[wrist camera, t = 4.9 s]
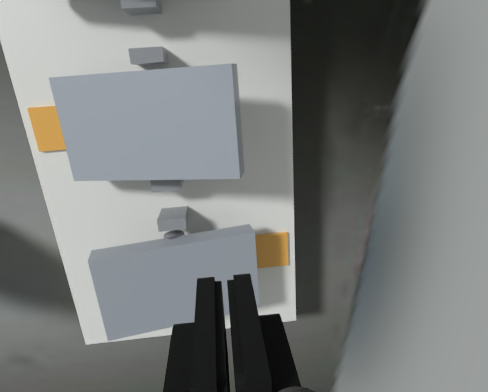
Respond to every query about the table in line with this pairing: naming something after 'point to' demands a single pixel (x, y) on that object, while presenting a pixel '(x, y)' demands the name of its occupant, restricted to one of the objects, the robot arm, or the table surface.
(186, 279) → the rocker
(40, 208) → the table surface
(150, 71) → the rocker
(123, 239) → the switch unit
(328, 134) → the table surface
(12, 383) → the table surface
